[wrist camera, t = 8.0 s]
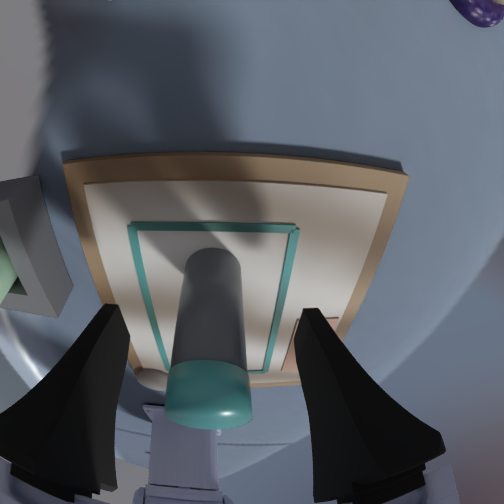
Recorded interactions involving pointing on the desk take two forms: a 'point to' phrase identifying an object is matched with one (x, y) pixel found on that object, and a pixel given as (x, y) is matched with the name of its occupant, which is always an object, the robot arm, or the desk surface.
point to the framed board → (232, 243)
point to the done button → (5, 272)
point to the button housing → (32, 250)
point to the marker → (209, 346)
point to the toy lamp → (481, 11)
